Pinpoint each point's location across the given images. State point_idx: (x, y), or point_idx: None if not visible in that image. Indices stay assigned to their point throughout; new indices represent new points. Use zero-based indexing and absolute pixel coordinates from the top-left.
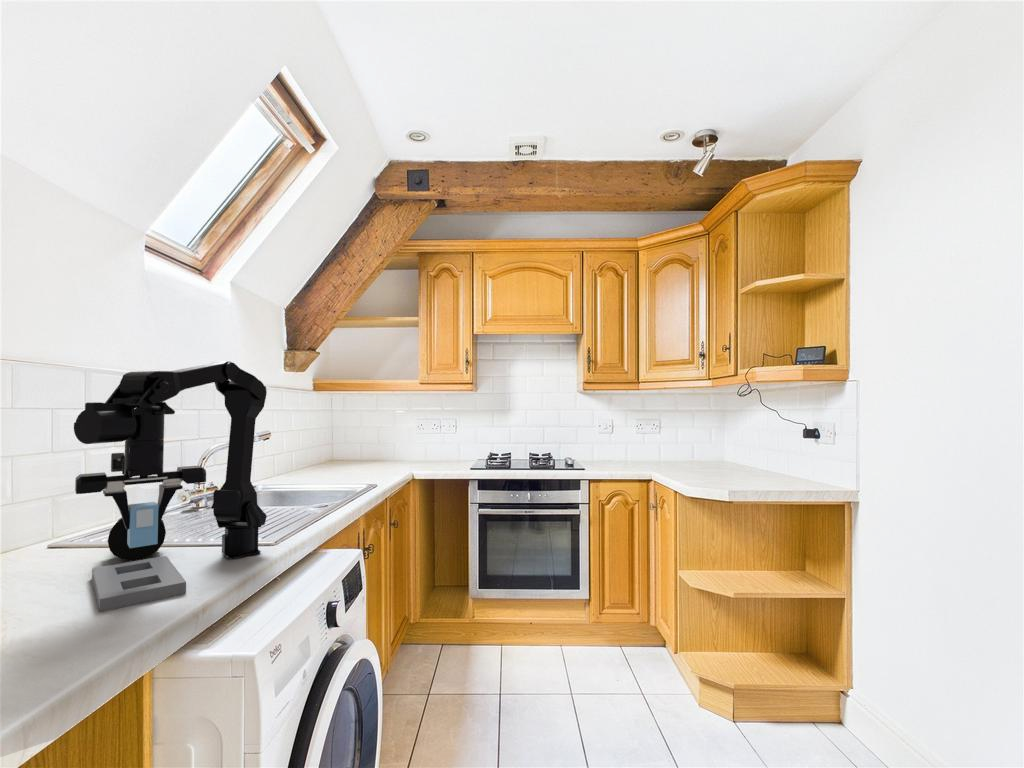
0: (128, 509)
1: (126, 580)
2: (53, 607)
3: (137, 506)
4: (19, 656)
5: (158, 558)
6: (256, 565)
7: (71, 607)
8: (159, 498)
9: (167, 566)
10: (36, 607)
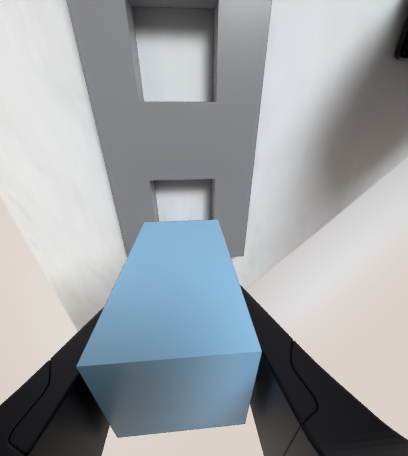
0: (109, 424)
1: (160, 178)
2: (55, 181)
3: (148, 424)
4: (82, 324)
5: None
6: (384, 166)
7: (87, 202)
8: (279, 433)
9: (246, 114)
10: (20, 158)
